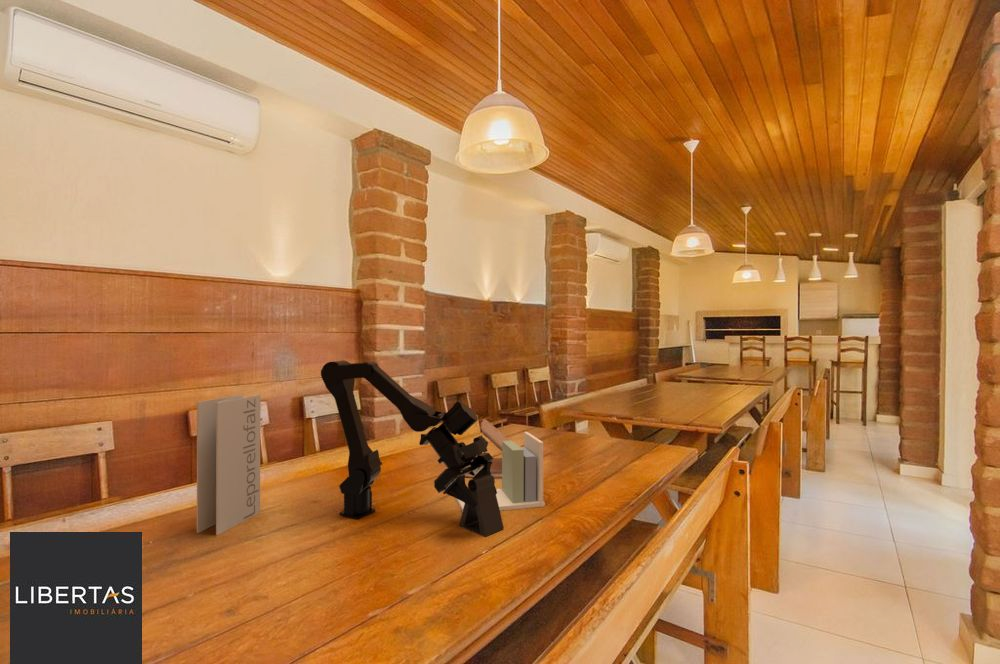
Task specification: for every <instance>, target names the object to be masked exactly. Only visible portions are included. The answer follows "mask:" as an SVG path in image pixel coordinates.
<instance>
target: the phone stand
mask: <svg viewBox="0 0 1000 664" xmlns="http://www.w3.org/2000/svg"><path fill="white" fill-rule="evenodd" d="M488 475H489V474H487V475H484V476H481V477H477V478H474V479H473V478H470V479H469V480H468V482H467V487H468V489H469V491H470V492H471V494H472V495H473V497H474V498H475V500H476V502H477V504H478V505H477V506H476V507H475V508H474V507H472V506H470V505H468V504H466V503H465V505H464V509H463V512H462V511H461V512H462V513H461V516H460V521H459V524H458V525H459V527H460V528H462V529H464V530H467V531H470V532H473V533H475V534H476V535H479V536H482V537H485V538H486V537H488V536H491V535H492V534H494V533H495V534H496V533H497V532H500V531H502V530H504V528H505V527H504V523H503V518H502V515H501V510H499V506H498V501H497V497H496V493H495V488H496V487H495V488H494V485H495V478H494V477H493V476H492V475H489V476H488Z"/></svg>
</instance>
